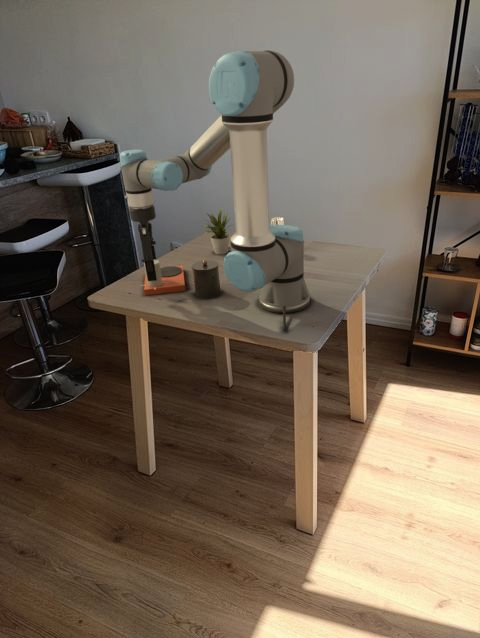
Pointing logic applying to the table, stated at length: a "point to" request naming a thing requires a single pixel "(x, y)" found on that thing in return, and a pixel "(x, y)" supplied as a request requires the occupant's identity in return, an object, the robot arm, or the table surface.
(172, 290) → the hot plate
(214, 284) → the enamel pot
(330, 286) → the table surface
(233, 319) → the table surface
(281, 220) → the wineglass
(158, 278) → the hob knob
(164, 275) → the burner
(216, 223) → the house plant
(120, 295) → the table surface
